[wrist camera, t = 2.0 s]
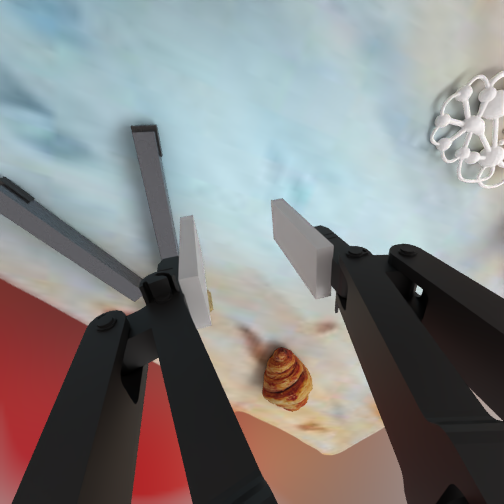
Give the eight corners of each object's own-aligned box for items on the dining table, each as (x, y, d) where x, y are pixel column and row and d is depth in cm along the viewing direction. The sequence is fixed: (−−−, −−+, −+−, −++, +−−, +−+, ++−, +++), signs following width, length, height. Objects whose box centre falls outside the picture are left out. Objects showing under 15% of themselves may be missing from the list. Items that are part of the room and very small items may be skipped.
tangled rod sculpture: (401, 167, 38) (421, 175, 34) (464, 45, 30) (497, 40, 27) (494, 187, 43) (519, 197, 40) (567, 88, 36) (605, 88, 32)
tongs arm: (184, 272, 36) (184, 281, 34) (166, 274, 35) (165, 284, 34) (156, 124, 27) (154, 125, 25) (132, 125, 26) (128, 126, 24)
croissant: (296, 382, 62) (324, 405, 56) (266, 415, 57) (294, 445, 52) (283, 323, 50) (316, 346, 45) (245, 359, 46) (277, 389, 40)
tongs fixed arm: (186, 288, 38) (186, 299, 35) (160, 308, 38) (159, 319, 36) (23, 159, 26) (9, 164, 24) (-9, 191, 26) (-26, 198, 24)
